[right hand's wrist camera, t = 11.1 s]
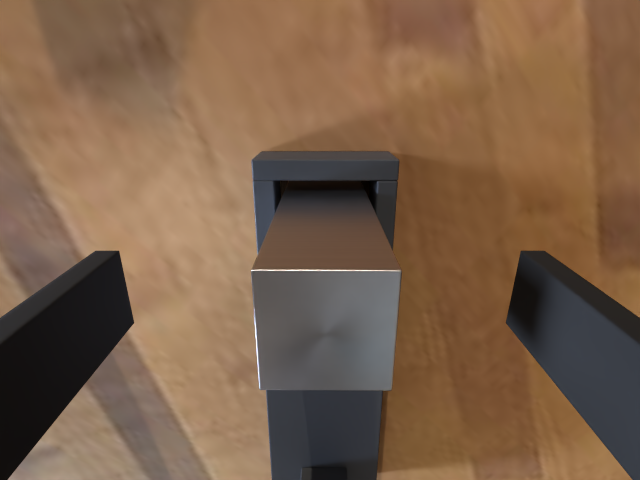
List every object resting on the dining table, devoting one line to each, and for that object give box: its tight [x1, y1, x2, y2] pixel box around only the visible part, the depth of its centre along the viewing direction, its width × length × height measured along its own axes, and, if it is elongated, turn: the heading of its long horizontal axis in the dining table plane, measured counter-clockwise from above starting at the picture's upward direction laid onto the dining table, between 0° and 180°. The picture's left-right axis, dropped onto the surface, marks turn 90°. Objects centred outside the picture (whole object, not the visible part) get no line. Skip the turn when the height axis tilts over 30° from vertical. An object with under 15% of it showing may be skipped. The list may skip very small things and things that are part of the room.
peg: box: [251, 180, 402, 391], centre depth 16 cm, size 4×4×12 cm
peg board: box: [252, 151, 399, 480], centre depth 20 cm, size 24×7×11 cm, turn 0°
